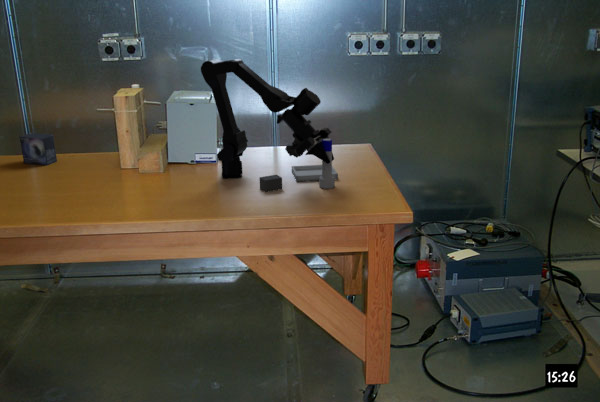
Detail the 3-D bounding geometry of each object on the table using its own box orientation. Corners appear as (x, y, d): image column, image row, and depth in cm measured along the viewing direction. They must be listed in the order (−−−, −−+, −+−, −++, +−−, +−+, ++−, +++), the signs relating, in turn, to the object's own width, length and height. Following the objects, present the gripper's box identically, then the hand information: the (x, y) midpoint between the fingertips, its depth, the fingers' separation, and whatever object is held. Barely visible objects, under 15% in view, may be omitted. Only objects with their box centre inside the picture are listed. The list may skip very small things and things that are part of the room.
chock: (265, 192, 197) (264, 180, 196) (259, 189, 201) (259, 177, 199) (282, 189, 200) (282, 177, 199) (276, 186, 203) (276, 174, 202)
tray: (296, 181, 207) (296, 176, 206) (291, 171, 218) (291, 166, 217) (337, 179, 209) (337, 173, 208) (331, 169, 220) (331, 164, 219)
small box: (22, 164, 232) (18, 136, 228) (34, 159, 238) (30, 132, 234) (46, 166, 229) (42, 138, 226) (57, 161, 235) (54, 134, 231)
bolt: (333, 189, 199) (317, 188, 200) (336, 184, 203) (321, 183, 204) (333, 141, 194) (317, 141, 195) (336, 138, 198) (321, 137, 199)
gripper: (294, 134, 211) (324, 169, 210) (270, 147, 194) (303, 185, 194) (315, 113, 205) (347, 148, 205) (293, 124, 189) (327, 163, 189)
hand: (331, 161), depth 198 cm, fingers closed on bolt, 3 cm apart
